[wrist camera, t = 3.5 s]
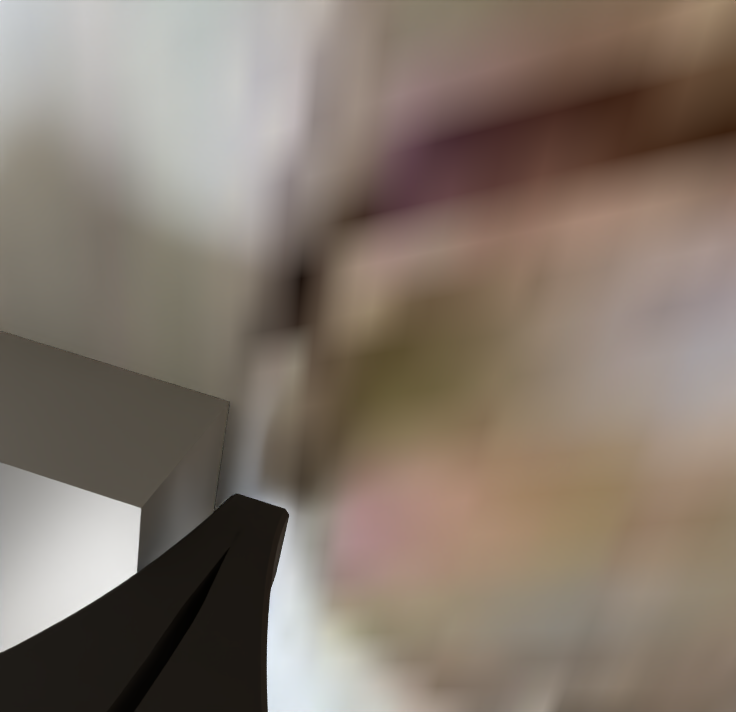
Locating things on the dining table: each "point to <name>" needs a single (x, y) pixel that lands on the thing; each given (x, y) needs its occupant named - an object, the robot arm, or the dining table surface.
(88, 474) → the grey stepped block
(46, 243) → the dining table surface
